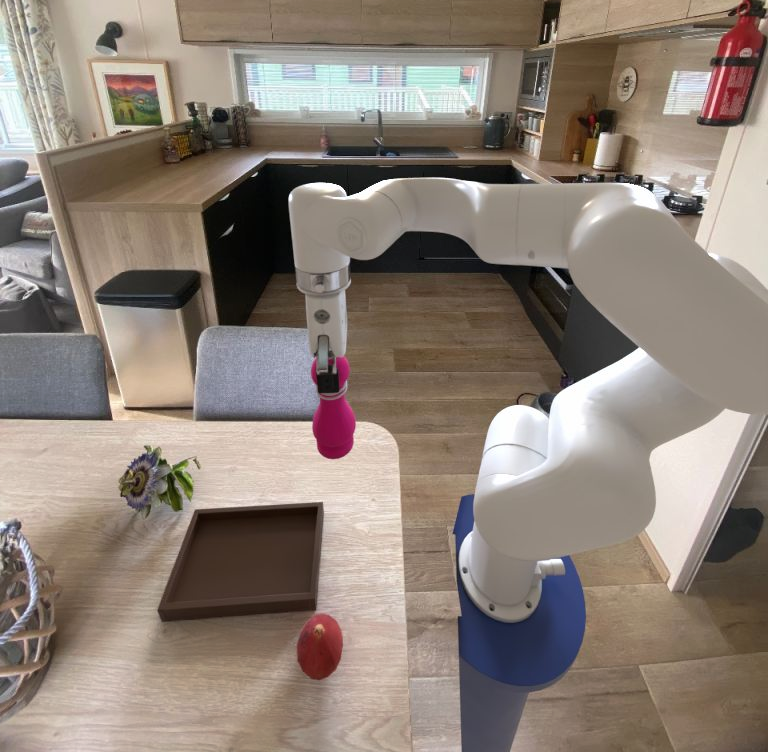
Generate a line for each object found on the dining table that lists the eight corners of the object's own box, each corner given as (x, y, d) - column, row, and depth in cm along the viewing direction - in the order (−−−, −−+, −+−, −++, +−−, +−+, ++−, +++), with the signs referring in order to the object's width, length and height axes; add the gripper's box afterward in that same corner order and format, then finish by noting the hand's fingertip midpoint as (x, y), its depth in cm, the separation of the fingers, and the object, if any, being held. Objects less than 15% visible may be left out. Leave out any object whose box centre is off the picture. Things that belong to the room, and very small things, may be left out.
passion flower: (147, 529, 71) (97, 488, 68) (193, 471, 79) (150, 432, 76) (171, 536, 64) (116, 491, 61) (218, 472, 72) (172, 429, 69)
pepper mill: (354, 462, 63) (350, 364, 56) (310, 462, 63) (300, 364, 56) (357, 426, 70) (354, 334, 62) (317, 426, 70) (309, 334, 62)
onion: (292, 687, 49) (286, 654, 46) (307, 627, 54) (302, 595, 51) (337, 696, 48) (335, 664, 45) (348, 635, 53) (346, 602, 50)
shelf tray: (323, 512, 68) (323, 501, 67) (316, 610, 56) (315, 598, 55) (198, 520, 67) (194, 509, 66) (161, 622, 54) (156, 610, 53)
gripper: (348, 306, 46) (353, 419, 53) (351, 247, 62) (355, 340, 69) (284, 308, 46) (298, 421, 53) (304, 248, 62) (312, 341, 69)
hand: (330, 374), depth 61 cm, fingers closed on pepper mill, 6 cm apart
